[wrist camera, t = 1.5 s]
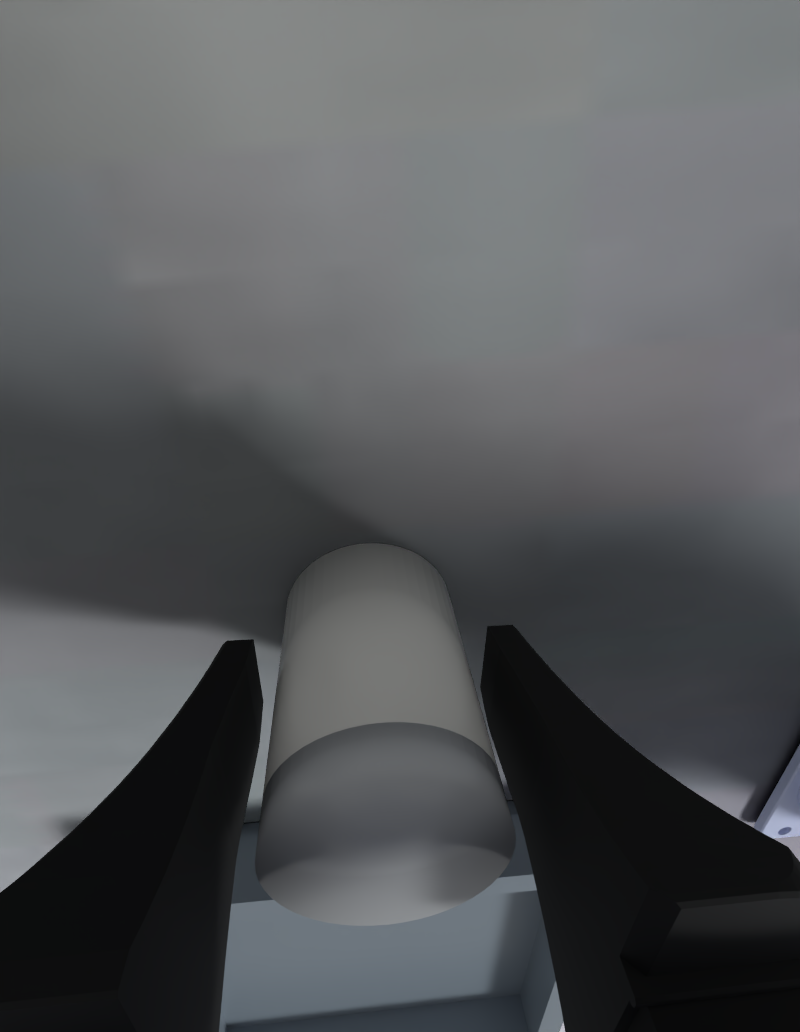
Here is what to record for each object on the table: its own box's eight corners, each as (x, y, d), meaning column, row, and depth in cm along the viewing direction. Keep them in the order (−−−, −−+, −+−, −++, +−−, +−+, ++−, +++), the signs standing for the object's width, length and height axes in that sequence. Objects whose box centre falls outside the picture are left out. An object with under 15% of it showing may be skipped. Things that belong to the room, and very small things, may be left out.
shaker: (454, 539, 14) (532, 765, 8) (445, 666, 16) (501, 912, 11) (279, 546, 14) (238, 789, 8) (293, 675, 16) (269, 937, 10)
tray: (592, 794, 20) (623, 865, 18) (534, 988, 28) (550, 1054, 26) (136, 832, 19) (110, 915, 17) (211, 1026, 27) (200, 1098, 24)
